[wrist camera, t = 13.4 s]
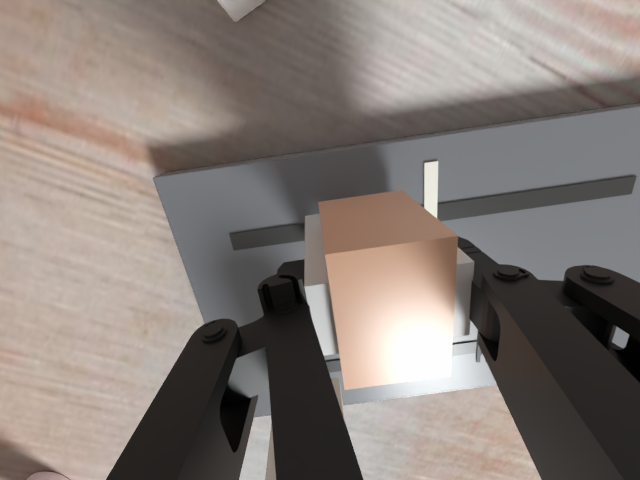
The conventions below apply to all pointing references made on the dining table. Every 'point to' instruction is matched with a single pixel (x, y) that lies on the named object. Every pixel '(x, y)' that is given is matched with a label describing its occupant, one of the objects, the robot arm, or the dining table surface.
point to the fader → (389, 288)
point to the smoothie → (47, 476)
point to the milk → (239, 7)
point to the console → (432, 194)
